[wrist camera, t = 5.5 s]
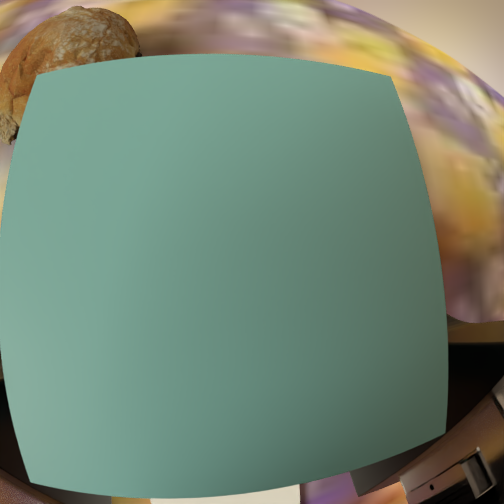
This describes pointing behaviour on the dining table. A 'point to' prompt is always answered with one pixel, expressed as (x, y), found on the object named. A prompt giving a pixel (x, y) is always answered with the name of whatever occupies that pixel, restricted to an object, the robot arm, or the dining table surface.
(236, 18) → the dining table surface
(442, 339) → the teal block
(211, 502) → the white tile
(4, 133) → the bread roll
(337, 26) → the dining table surface
